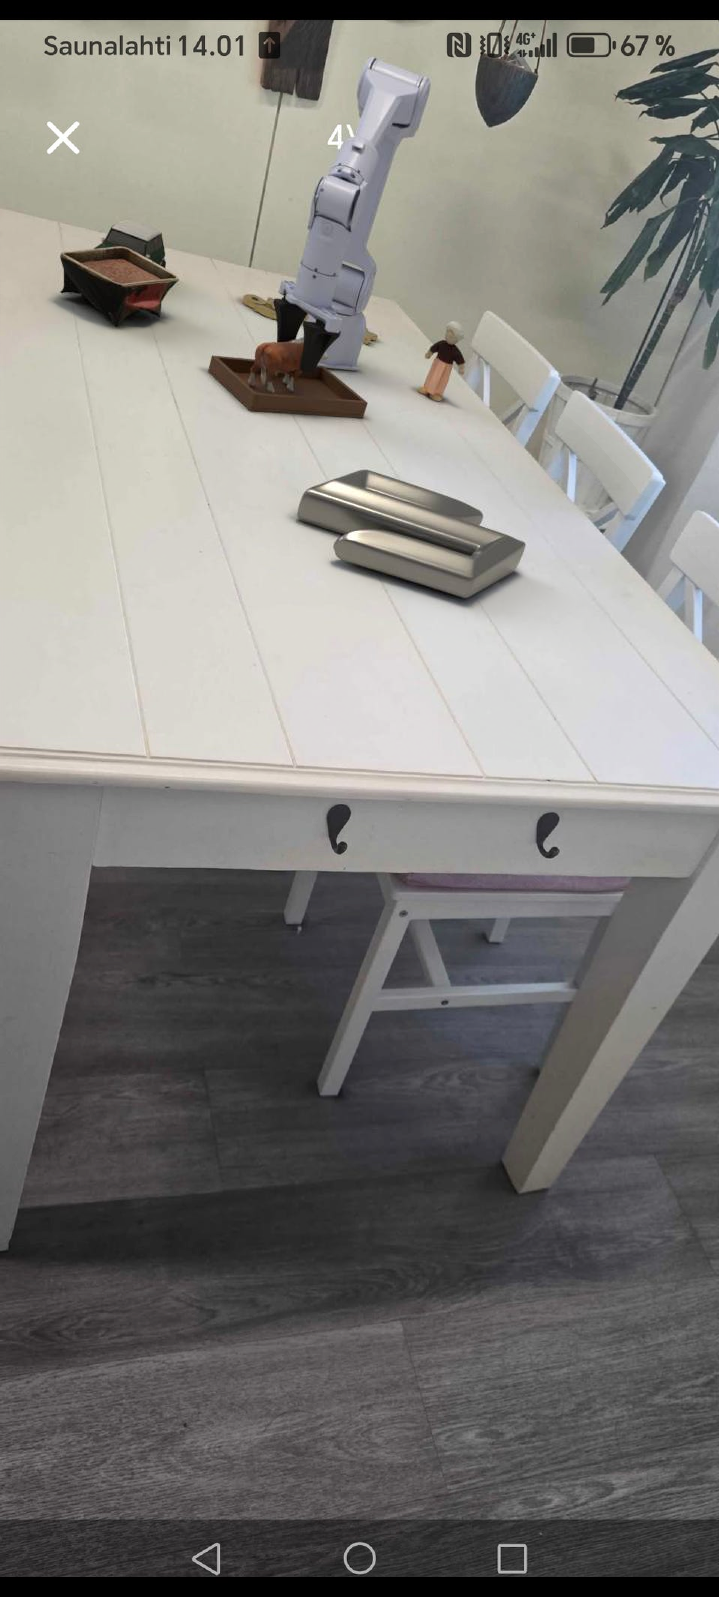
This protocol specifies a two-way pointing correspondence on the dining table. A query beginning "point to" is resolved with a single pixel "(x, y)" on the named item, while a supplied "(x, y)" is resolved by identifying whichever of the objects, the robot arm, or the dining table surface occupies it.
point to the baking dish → (117, 280)
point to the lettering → (269, 311)
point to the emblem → (410, 532)
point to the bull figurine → (278, 362)
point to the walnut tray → (309, 396)
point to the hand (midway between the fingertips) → (294, 360)
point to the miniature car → (136, 240)
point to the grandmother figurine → (444, 361)
